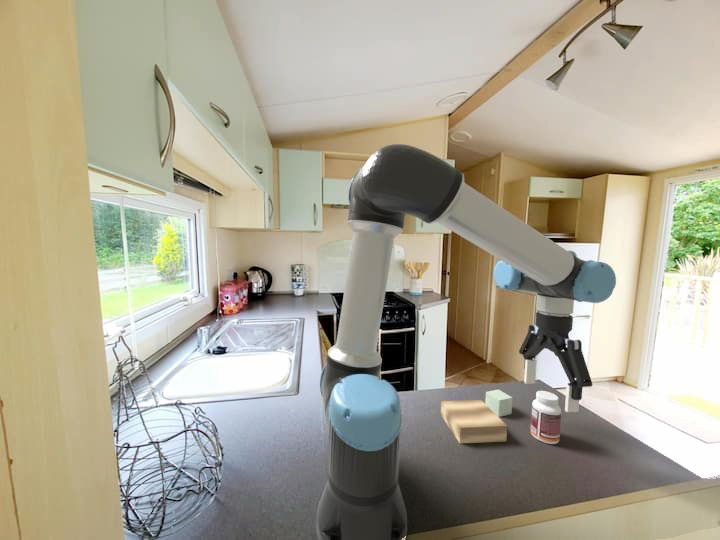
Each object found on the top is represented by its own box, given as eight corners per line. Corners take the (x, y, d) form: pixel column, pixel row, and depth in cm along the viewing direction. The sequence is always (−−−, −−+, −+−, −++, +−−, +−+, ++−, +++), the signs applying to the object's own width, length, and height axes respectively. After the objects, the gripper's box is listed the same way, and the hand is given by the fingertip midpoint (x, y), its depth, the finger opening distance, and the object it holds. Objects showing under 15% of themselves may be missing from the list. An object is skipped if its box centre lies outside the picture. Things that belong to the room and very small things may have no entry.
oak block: (506, 441, 69) (507, 425, 69) (459, 443, 68) (460, 427, 68) (480, 413, 81) (481, 399, 81) (440, 414, 80) (441, 401, 80)
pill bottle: (563, 439, 71) (567, 397, 70) (552, 448, 67) (556, 404, 66) (537, 426, 76) (540, 387, 75) (525, 434, 72) (528, 392, 72)
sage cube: (511, 414, 81) (512, 397, 81) (498, 417, 80) (499, 400, 79) (497, 405, 86) (498, 389, 86) (484, 407, 84) (485, 391, 84)
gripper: (619, 326, 57) (610, 425, 59) (532, 303, 82) (527, 373, 84) (585, 327, 56) (578, 427, 58) (508, 303, 81) (504, 374, 83)
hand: (548, 395), depth 71 cm, fingers open, 13 cm apart
